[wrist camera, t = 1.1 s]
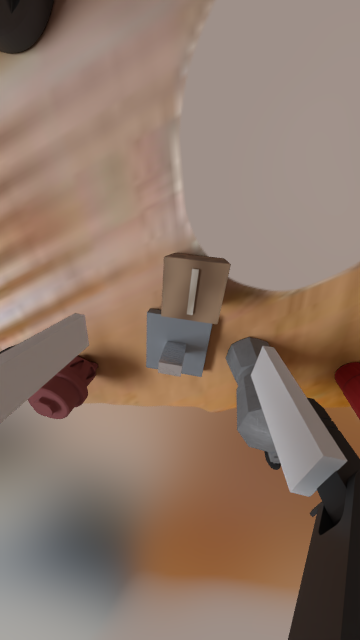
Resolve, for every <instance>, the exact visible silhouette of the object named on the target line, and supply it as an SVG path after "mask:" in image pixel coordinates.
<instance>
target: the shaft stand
mask: <svg viewBox="0 0 360 640" xmlns="http://www.w3.org/2000/svg"><path fill="white" fill-rule="evenodd" d="M211 328H212V324H211V323H204V322H197V321H190V320H184V319H177V318H170V317H163V316H161V310H157V309H149V311H148V312H147V361H146V367H148V368H153V369H158V373H163V374H169V375H174V376H180V377H181V373H182V374H188V375H193V376H199V377H202V372H203V367H204V362H205V357H206V352H207V347H208V342H209V338H210V333H211Z"/></svg>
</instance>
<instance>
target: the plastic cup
mask: <svg viewBox="0 0 360 640" xmlns="http://www.w3.org/2000/svg"><path fill="white" fill-rule="evenodd" d="M335 380H336V382H337V384H338V385H339V387H340V388H341V390H342V391H343V394H344V395H345V397H346V399H347V400H348V402H349V403H350V405H351V407H352V408H353V410H354V411H355V413H356V415H357V416H358V418H359V419H360V363H359V362H353V363H348V364H346V365H343V366H341V367H340V368H339V369H338V370H337V371H336V373H335Z"/></svg>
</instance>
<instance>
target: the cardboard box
mask: <svg viewBox="0 0 360 640" xmlns="http://www.w3.org/2000/svg"><path fill="white" fill-rule="evenodd" d="M230 265H231V264H229V262H227V261H226V260H225V259H223V258H215V257H207V256H198V255H189V254H180V253H173V254H170V255H167V256H165V257H164V270H163V290H162V309H161V316H163V317H170V318H177V319H184V320H190V321H197V322H204V323H211V324H218V320H219V315H220V311H221V306H222V302H223V297H224V292H225V288H226V283H227V279H228V274H229V270H230Z"/></svg>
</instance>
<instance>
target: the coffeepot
mask: <svg viewBox="0 0 360 640" xmlns="http://www.w3.org/2000/svg"><path fill="white" fill-rule="evenodd" d="M262 346H268V347H270V346H269V344H268V342H266V341H263V340H260V339H257V338H251V337H248V338H245V339H242V340H239V341H237V342H235V343H234V344H232V345H231V347H230V349H229V350H228V353H227V356H226V360H227V363H228V365H229V367H230V369H231V371H232V374H233V376H234V378H235V380H236V382H237V384H238V388H237V430H238V432H239V433H240V435H241V436H242V437H243V439H244V440H245V441H246V443H247V444H248V446H249V447H252V448H256V449H260V450H263V451H265V457H266V460H267V462H268V464H269V465H270V467H271V468H273V469H275V470H278V469H279V468H280V466H281V463H280V460H279V457H278V454H277V452H276V449H275V446H274V443H273V440H272V437H271V434H270V431H269V428H268V425H267V422H266V419H265V416H264V413H263V410H262V407H261V404H260V401H259V398H258V395H257V392H256V389H255V386H254V383H253V380H252V377H251V374H252V371H253V369H254V366H255V364H256V361H257V359H258V356H259V354H260V351H261V349H262Z"/></svg>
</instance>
